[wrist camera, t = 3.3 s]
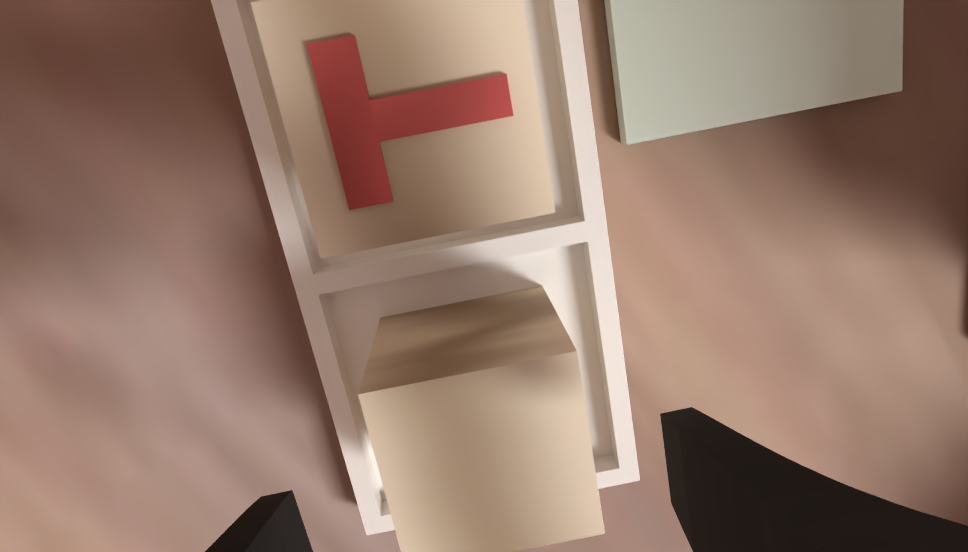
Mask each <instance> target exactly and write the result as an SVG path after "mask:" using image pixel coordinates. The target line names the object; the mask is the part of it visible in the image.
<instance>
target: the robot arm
mask: <svg viewBox="0 0 968 552" xmlns="http://www.w3.org/2000/svg"><path fill="white" fill-rule="evenodd" d="M660 416H661V424H662V432H663V440H664V448H665V456H666V464H667V472H668V480H669V488H670V496H671V503H672V506H673V508H674V510H675V512H676V515H677V517H678V519H679V522H680V524H681V526H682V528H683V531H684V533H685V535H686V537H687V539H688V541H689V544H690V546H691V548H692V550H693V552H968V526H966V525H963V524H959V523H956V522H953V521H949V520H946V519H942V518H939V517H936V516H932V515H929V514H926V513H922V512H919V511H916V510H913V509H910V508H907V507H904V506H901V505H898V504H895V503H892V502H890V501H887V500H884V499H882V498H879V497H876V496H874V495H871V494H868V493H866V492H863V491H860V490H857V489H855V488H852V487H850V486H847V485H845V484H842V483H840V482H838V481H835V480H833V479H831V478H828V477H826V476H824V475H822V474H820V473H817V472H815V471H813V470H811V469H809V468H806V467H804V466H802V465H800V464H798V463H796V462H794V461H792V460H790V459H787V458H785V457H783V456H781V455H779V454H777V453H775V452H773V451H772V450H770V449H768V448H766V447H764V446H762V445H760V444H758V443H756V442H754V441H753V440H751V439H749V438H747V437H745V436H743V435H741V434H740V433H738V432H736V431H734V430H732V429H731V428H729V427H727V426H725V425H723V424H722V423H720V422H718V421H716V420H714V419H713V418H711V417H709V416H707V415H705V414H704V413H702V412H700V411H698V410H696V409H694V408H692V407H691V408H686V409H681V410H676V411H671V412H667V413H662V414H660ZM205 552H313V550H312V548H311V545H310V542H309V539H308V536H307V533H306V530H305V527H304V524H303V521H302V518H301V515H300V512H299V509H298V506H297V503H296V500H295V497H294V494H293V491H292V490H291V491H286V492H282V493H277V494H272V495H267V496H262V497H260V498H259V499H258V500H257V501H256V502H255V503H253V504H252V505H251V506H250V507H249V508H248V509H247V510H246V511H245V512H244V513H243V514H242V515H241V516H240V517H239V518H238V519H237V520H236V521H235V522H234V523H233V524H232V525H231V526H230V527H229V528H228V529H227V530H226V531H225V532H224V533H223V534H222V535H221V536H220V537H219V538H218V539H217V540H216V541H215V542H214V543H213V544H212V545H211V546H210V547H209V548H208V549H207V550H206V551H205Z"/></svg>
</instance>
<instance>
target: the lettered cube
mask: <svg viewBox="0 0 968 552" xmlns="http://www.w3.org/2000/svg"><path fill="white" fill-rule="evenodd" d="M251 6H252V10H253V14H254V17H255V21H256V25H257V28H258V32H259V35H260V39H261V43H262V46H263V50H264V54H265V57H266V61H267V65H268V68H269V72H270V76H271V79H272V83H273V87H274V90H275V94H276V97H277V101H278V105H279V108H280V112H281V116H282V119H283V123H284V127H285V130H286V134H287V138H288V141H289V145H290V149H291V152H292V156H293V159H294V163H295V167H296V170H297V174H298V178H299V181H300V185H301V189H302V192H303V196H304V200H305V203H306V207H307V211H308V214H309V218H310V221H311V225H312V229H313V232H314V236H315V240H316V243H317V247H318V251H319V254H320V258H321V259H322V258H327V257H333V256H338V255H343V254H348V253H353V252H358V251H363V250H368V249H373V248H378V247H383V246H389V245H394V244H399V243H404V242H409V241H414V240H419V239H424V238H429V237H434V236H439V235H444V234H450V233H455V232H460V231H465V230H470V229H475V228H480V227H485V226H490V225H495V224H500V223H505V222H511V221H516V220H521V219H526V218H531V217H536V216H541V215H546V214H551V213H556V212H555V205H554V199H553V192H552V186H551V179H550V173H549V166H548V160H547V153H546V147H545V140H544V134H543V127H542V121H541V114H540V108H539V101H538V95H537V89H536V82H535V76H534V69H533V63H532V56H531V50H530V43H529V37H528V30H527V24H526V17H525V11H524V4H523V0H261V1H256V2H251Z"/></svg>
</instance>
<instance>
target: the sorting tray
mask: <svg viewBox="0 0 968 552" xmlns="http://www.w3.org/2000/svg"><path fill="white" fill-rule="evenodd" d="M256 1H261V0H211V3H212V7H213V10H214V13H215V17H216V20H217V24H218V27H219V31H220V34H221V37H222V41H223V44H224V48H225V51H226V55H227V58H228V61H229V65H230V68H231V72H232V75H233V79H234V82H235V85H236V89H237V92H238V96H239V99H240V103H241V106H242V109H243V113H244V116H245V120H246V123H247V127H248V130H249V133H250V137H251V140H252V144H253V147H254V151H255V154H256V157H257V161H258V164H259V168H260V171H261V175H262V178H263V182H264V185H265V188H266V192H267V195H268V199H269V202H270V206H271V209H272V212H273V216H274V219H275V223H276V226H277V230H278V233H279V236H280V240H281V243H282V247H283V250H284V254H285V257H286V260H287V264H288V267H289V271H290V274H291V278H292V281H293V284H294V288H295V291H296V295H297V298H298V302H299V305H300V308H301V312H302V315H303V319H304V322H305V326H306V329H307V332H308V336H309V339H310V343H311V346H312V350H313V353H314V357H315V360H316V363H317V367H318V370H319V374H320V377H321V381H322V384H323V387H324V391H325V394H326V398H327V401H328V405H329V408H330V411H331V415H332V418H333V422H334V425H335V429H336V432H337V435H338V439H339V442H340V446H341V449H342V453H343V456H344V459H345V463H346V466H347V470H348V473H349V477H350V480H351V483H352V487H353V490H354V494H355V497H356V501H357V504H358V507H359V511H360V514H361V518H362V521H363V525H364V528H365V532H366V535H371V534H376V533H381V532H386V531H391V530H395V528H394V524H393V521H392V517H391V513H390V510H389V506H388V502H387V499H386V495H385V491H384V488H383V484H382V480H381V477H380V473H379V469H378V466H377V462H376V459H375V455H374V451H373V448H372V444H371V440H370V437H369V433H368V429H367V426H366V422H365V418H364V415H363V411H362V407H361V404H360V400H359V397H358V393H359V389H360V386H361V382H362V379H363V376H364V372H365V369H366V365H367V362H368V358H369V355H370V352H371V348H372V345H373V341H374V338H375V334H376V331H377V328H378V324H379V321H380V318H381V317H386V316H391V315H396V314H401V313H406V312H411V311H416V310H421V309H426V308H431V307H436V306H441V305H446V304H452V303H457V302H462V301H467V300H472V299H477V298H482V297H487V296H492V295H497V294H502V293H507V292H512V291H517V290H522V289H527V288H532V287H538V286H543V288H544V290H545V292H546V293H547V295H548V297H549V299H550V301H551V303H552V305H553V307H554V309H555V310H556V312H557V314H558V316H559V318H560V320H561V322H562V324H563V326H564V328H565V329H566V331H567V333H568V335H569V337H570V339H571V341H572V343H573V345H574V346H575V348H576V350H577V355H578V361H579V368H580V374H581V381H582V387H583V394H584V400H585V407H586V413H587V420H588V426H589V433H590V439H591V446H592V452H593V459H594V465H595V472H596V478H597V485H598V489H600V488H605V487H610V486H615V485H620V484H625V483H630V482H635V481H640V477H639V469H638V462H637V454H636V446H635V438H634V431H633V423H632V415H631V408H630V400H629V392H628V385H627V377H626V369H625V362H624V354H623V346H622V338H621V331H620V323H619V315H618V308H617V300H616V292H615V285H614V277H613V269H612V262H611V254H610V246H609V238H608V231H607V223H606V215H605V208H604V200H603V192H602V185H601V177H600V169H599V162H598V154H597V146H596V138H595V131H594V123H593V115H592V108H591V100H590V92H589V85H588V77H587V69H586V62H585V54H584V46H583V38H582V31H581V23H580V15H579V8H578V0H523V4H524V11H525V17H526V24H527V30H528V37H529V43H530V50H531V56H532V63H533V69H534V76H535V82H536V89H537V95H538V101H539V108H540V114H541V121H542V127H543V134H544V140H545V147H546V153H547V160H548V166H549V173H550V179H551V186H552V192H553V199H554V205H555V212H556V213H551V214H546V215H541V216H536V217H531V218H526V219H521V220H516V221H511V222H505V223H500V224H495V225H490V226H485V227H480V228H475V229H470V230H465V231H460V232H455V233H450V234H444V235H439V236H434V237H429V238H424V239H419V240H414V241H409V242H404V243H399V244H394V245H389V246H383V247H378V248H373V249H368V250H363V251H358V252H353V253H348V254H343V255H338V256H333V257H327V258H322V259H321V258H320V254H319V251H318V247H317V243H316V240H315V236H314V232H313V229H312V225H311V221H310V218H309V214H308V211H307V207H306V203H305V200H304V196H303V192H302V189H301V185H300V181H299V178H298V174H297V170H296V167H295V163H294V159H293V156H292V152H291V149H290V145H289V141H288V138H287V134H286V130H285V127H284V123H283V119H282V116H281V112H280V108H279V105H278V101H277V97H276V94H275V90H274V87H273V83H272V79H271V76H270V72H269V68H268V65H267V61H266V57H265V54H264V50H263V46H262V43H261V39H260V35H259V32H258V28H257V25H256V21H255V17H254V14H253V10H252V6H251V2H256Z"/></svg>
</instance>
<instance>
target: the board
mask: <svg viewBox="0 0 968 552" xmlns="http://www.w3.org/2000/svg"><path fill="white" fill-rule="evenodd" d="M604 4H605V13H606V21H607V30H608V38H609V47H610V55H611V63H612V72H613V80H614V89H615V97H616V106H617V114H618V123H619V131H620V139H621V143H622V144H626V145H628V144H634V143H639V142H644V141H649V140H654V139H659V138H664V137H669V136H674V135H680V134H685V133H690V132H695V131H700V130H705V129H710V128H715V127H720V126H725V125H731V124H736V123H741V122H746V121H751V120H756V119H761V118H766V117H771V116H777V115H782V114H787V113H792V112H797V111H802V110H807V109H812V108H817V107H822V106H828V105H833V104H838V103H843V102H848V101H853V100H858V99H863V98H868V97H873V96H879V95H884V94H889V93H894V92H899V91H902V78H903V4H904V0H604Z"/></svg>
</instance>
